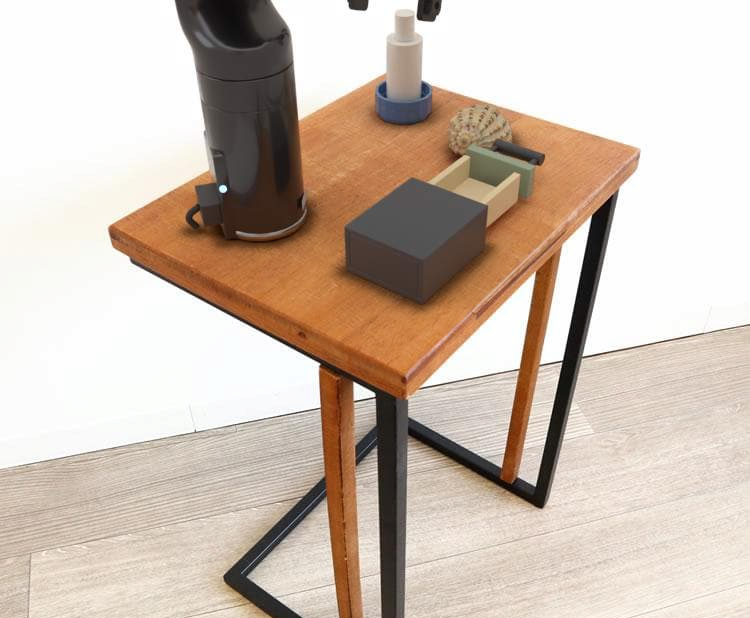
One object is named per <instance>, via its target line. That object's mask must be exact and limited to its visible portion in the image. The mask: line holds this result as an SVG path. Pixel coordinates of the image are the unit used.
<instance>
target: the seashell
mask: <svg viewBox="0 0 750 618" xmlns="http://www.w3.org/2000/svg"><path fill="white" fill-rule="evenodd" d="M446 135H447V141H446V143H447V144H448V147H449V149H450V150H452V151H453V153H455V155H456V156H460V157H462V156H464V155H466V149H467V148H468V147H469V146H471V145H475V146H478V147H481V148H484V149H487V150H488V149H490V148H491V147H492V146H493V143H494V141H495V139H497V138H498V139H501V140H504V141H507V142H510V143H513V133H512V126H511V123H510V122H509V120H508V118H507V117H506V116H505V115H502V113H501V112H500V110H499V108H497V107H492V106H491V105H490V104H485V105H482V104H476V103H473V104H471V106H468V107H465V108H461V109H459V110H458V111H457V114H456V115H455V116H453V117H452V118H451V119H450V120H449V126H448V127H447V129H446ZM496 153H499V152H496ZM499 154H502V153H499ZM502 155H503V154H502Z"/></svg>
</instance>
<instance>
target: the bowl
mask: <svg viewBox="0 0 750 618" xmlns="http://www.w3.org/2000/svg"><path fill="white" fill-rule="evenodd" d="M433 90H434V88H433V86H432V85H430V83H429V82H428V81H425V80H423V79H422V84H421V99H419V100H414V101H408V102H406V101H394V100H389V99H386V79H385V80H383V81H381V82H379V83H378V84H377V85H376V86H375V89H374V110H375V112H376V113H377V115H378V116H379V118H381V119H382V120H383V121H386V122H388V123H391V124H398V125H409V124H410V125H411V124H415V123H420V122H421V121H423V120H426V118H427V117H428V116H429V115H430V114H431V113H432V111H433Z"/></svg>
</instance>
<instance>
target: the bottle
mask: <svg viewBox="0 0 750 618" xmlns="http://www.w3.org/2000/svg"><path fill="white" fill-rule="evenodd" d="M415 21H416V12H415V10H413V9H409V8H401V9H397V10H396V11H394V32H392V33H389V34H388V35H387V36H386V38H385V43H386V45H385V49H386V50H385V51H386V52H385V53H386V54H385V57H386V63H385V71H386V72H385V78H386V79H385V80H386V99H389V100H394V101H406V102H408V101H414V100H419V99H421V84H422V80H423V78H422V77H423V44H424V43H423V42H424V38H423V36H422V35H421V34H420V33H418V32H415V30H416V29H415V28H416V27H415V26H416V22H415Z"/></svg>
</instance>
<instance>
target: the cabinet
mask: <svg viewBox="0 0 750 618" xmlns="http://www.w3.org/2000/svg"><path fill="white" fill-rule="evenodd" d="M487 215H488V205H486V204H483V203H480V202H477V201H475V200H472V199H469V198H467V197H464V196H461V195H459V194H456V193H453V192H451V191H448V190H445V189H443V188H440V187H437V186H435V185H432V184H429V183H428V182H426V181H424V180H420V179H418V178H416V177H413V176H411V177H410V178H408V179H407V180H406V181H403V183H402V184H400V185H398V186H397V187H396V188H394V189H393V190H392V191H390V192H389V193H388V194H386V195H385V196H383V198H381V199H379V200H378V201H377V202H375V203H374V204H373V205H371V206H370V207H369V208H367V209H366V210H364V211H363V212H362V213H360V214H359V215H358V216H356V217H355V218H354V219H352V220H351V221H349V222H348V223H347V224H345V225H344V226H343V231H344V253H345V254H344V256H345V271H347V272H349V273H350V274H353V275H355V276H358V277H359V278H362V279H364V280H366V281H368V282H371V283H373V284H374V285H377V286H380V287H381V288H384V289H386V290H389V291H391V292H392V293H394V294H398V295H400V296H402V297H403V298H406V299H408V300H411V301H413V302H415V303H416V304H420V305H423V304H425V303H426V302H427V301H428V300H429V299H430V298H431V297H433V296H434V295H435V294H436V293H437V292H438V291H439V290H441V289H442V287H444V286H445V285H446V284H447V283H448V282H449V281H451V279H453V278H454V277H455V276H456V275H457V274H458V273H459V272H460V271H462V270H463V269H464V268H465V267H466V266H468V264H469V263H471V262H472V261H473V260H474V259H475V258H476V257H478V256H479V254H481V253H482V252H483V251H484V250H485V246H486V244H485V243H486V236H487V228H486V226H487Z"/></svg>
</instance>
